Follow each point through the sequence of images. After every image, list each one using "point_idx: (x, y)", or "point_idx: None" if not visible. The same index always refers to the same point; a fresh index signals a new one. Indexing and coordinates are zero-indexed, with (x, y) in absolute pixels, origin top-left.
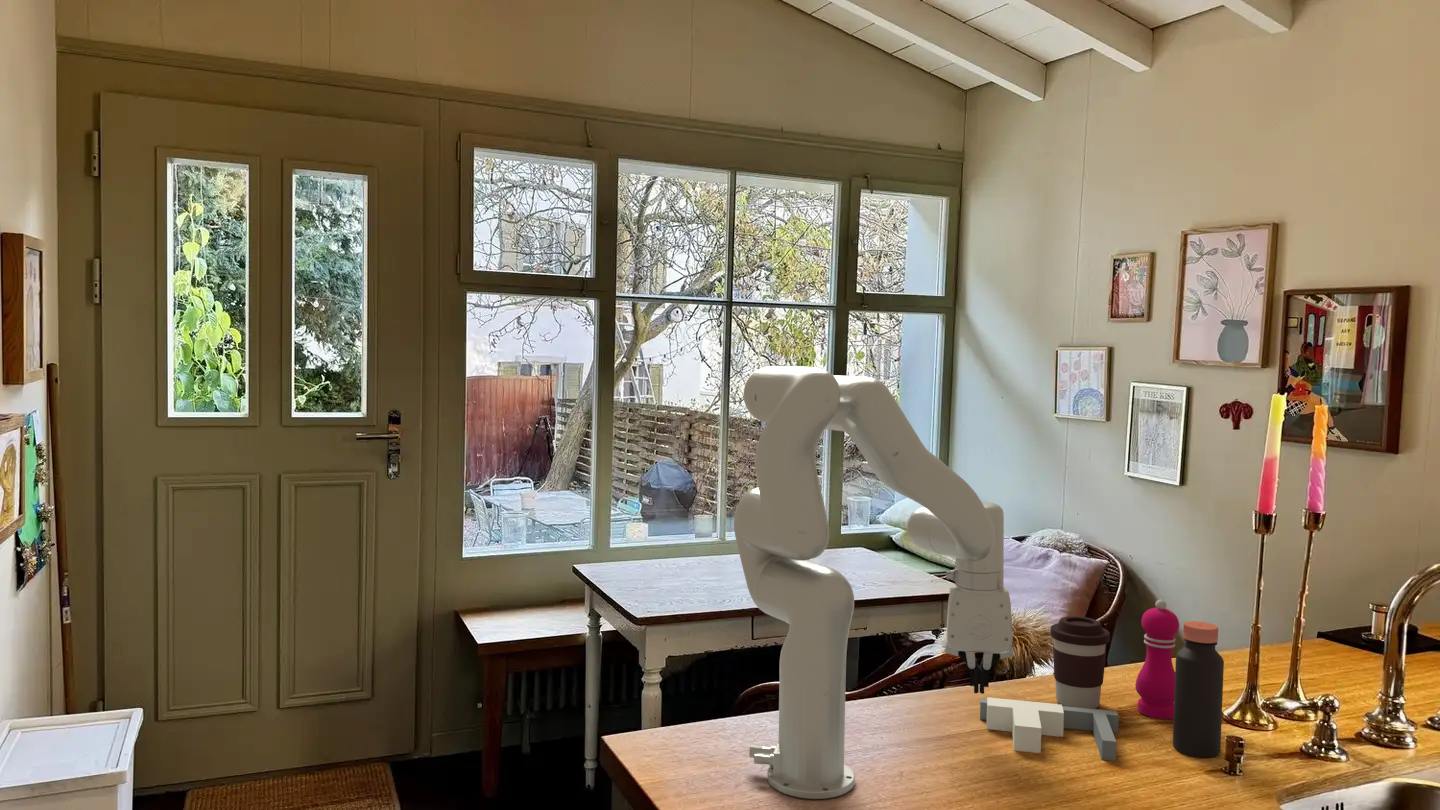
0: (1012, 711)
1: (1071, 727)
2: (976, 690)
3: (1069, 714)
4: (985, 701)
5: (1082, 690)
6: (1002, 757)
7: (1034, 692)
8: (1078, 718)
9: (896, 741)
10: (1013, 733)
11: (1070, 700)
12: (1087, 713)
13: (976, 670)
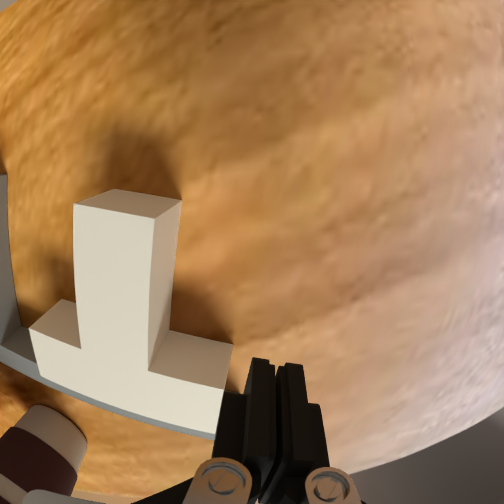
0: (151, 363)
1: None
2: (291, 369)
3: None
4: None
5: (30, 428)
6: (228, 140)
7: (123, 470)
8: (28, 346)
9: (490, 243)
10: (166, 264)
11: (57, 424)
12: (8, 347)
13: (299, 456)
